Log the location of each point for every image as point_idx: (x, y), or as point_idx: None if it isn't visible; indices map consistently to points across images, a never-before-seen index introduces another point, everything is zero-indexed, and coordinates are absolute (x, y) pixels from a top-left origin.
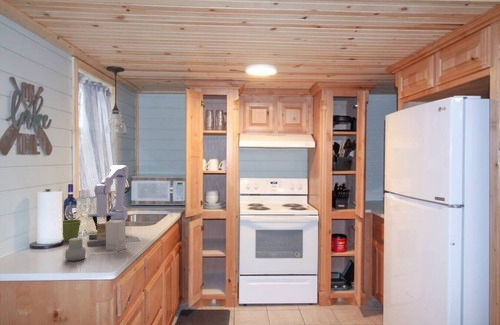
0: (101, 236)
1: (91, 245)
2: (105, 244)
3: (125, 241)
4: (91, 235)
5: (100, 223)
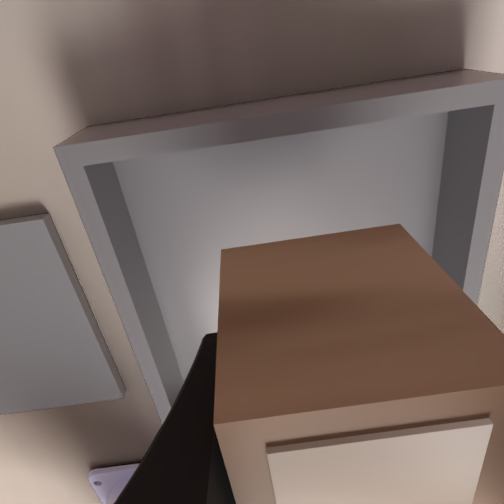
0: None
1: (422, 77)
2: (223, 107)
3: None
4: None
5: (426, 447)
